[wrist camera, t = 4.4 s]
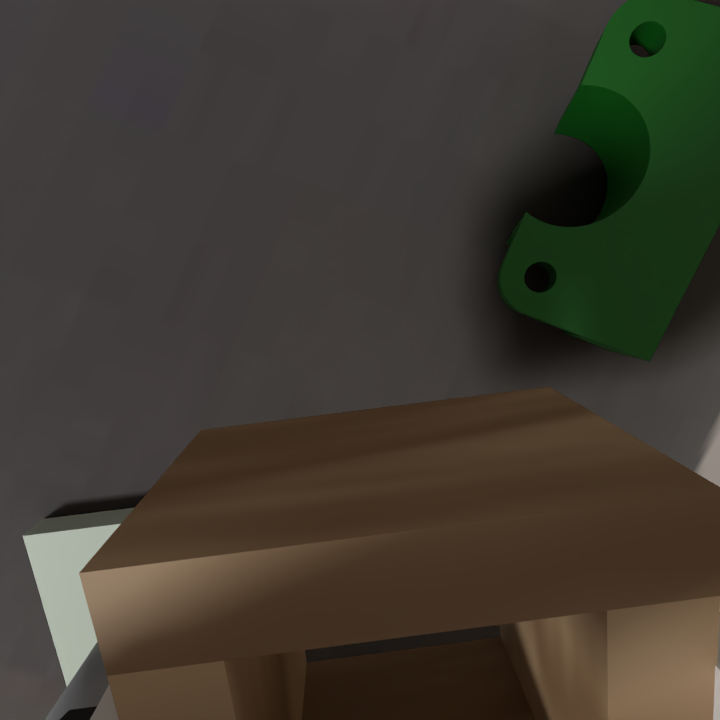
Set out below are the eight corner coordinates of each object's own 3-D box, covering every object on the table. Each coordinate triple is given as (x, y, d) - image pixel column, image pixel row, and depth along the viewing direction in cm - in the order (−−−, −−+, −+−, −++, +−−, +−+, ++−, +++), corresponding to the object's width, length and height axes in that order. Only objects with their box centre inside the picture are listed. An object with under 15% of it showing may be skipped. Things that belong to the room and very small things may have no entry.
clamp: (547, 138, 24) (640, -55, 16) (662, 176, 24) (827, -8, 15) (465, 338, 22) (523, 238, 13) (591, 388, 21) (743, 317, 12)
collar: (200, 430, 11) (79, 573, 6) (549, 386, 11) (725, 490, 6) (257, 718, 12) (200, 1022, 7) (559, 678, 12) (703, 951, 7)
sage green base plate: (43, 518, 23) (-162, 688, 14) (243, 493, 23) (173, 646, 14) (90, 686, 25) (-61, 934, 16) (274, 663, 25) (231, 896, 16)
